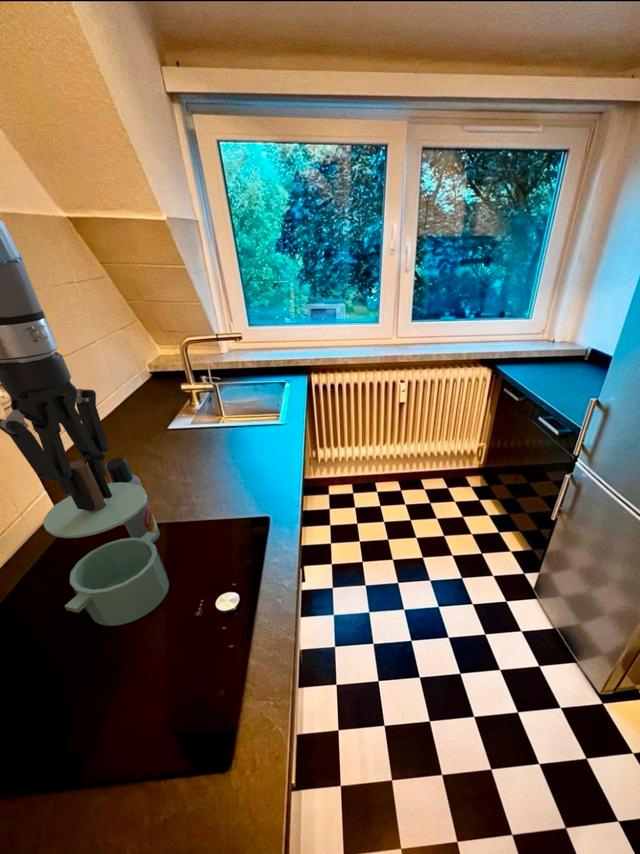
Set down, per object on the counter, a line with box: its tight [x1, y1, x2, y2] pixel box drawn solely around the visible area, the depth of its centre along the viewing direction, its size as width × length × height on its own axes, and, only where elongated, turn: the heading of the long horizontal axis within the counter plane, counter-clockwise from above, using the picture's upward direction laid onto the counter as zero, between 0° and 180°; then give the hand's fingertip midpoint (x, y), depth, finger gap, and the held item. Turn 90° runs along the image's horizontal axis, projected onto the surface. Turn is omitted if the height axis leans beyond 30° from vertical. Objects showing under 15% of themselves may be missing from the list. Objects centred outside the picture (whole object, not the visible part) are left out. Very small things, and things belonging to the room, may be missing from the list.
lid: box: [43, 459, 148, 539], centre depth 61 cm, size 15×15×9 cm
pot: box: [64, 532, 170, 627], centre depth 71 cm, size 14×19×8 cm
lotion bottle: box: [104, 457, 161, 538], centre depth 82 cm, size 6×6×20 cm
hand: (95, 502), depth 63 cm, fingers closed on lid, 3 cm apart
